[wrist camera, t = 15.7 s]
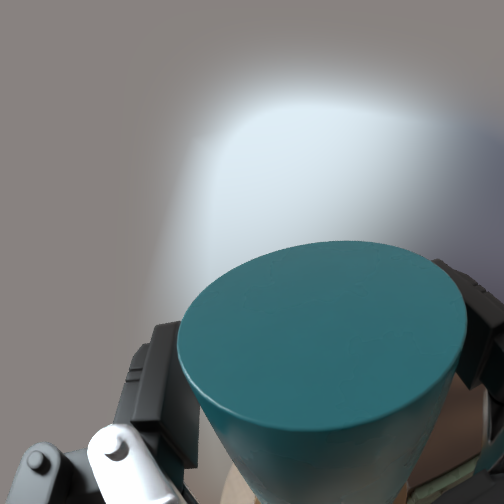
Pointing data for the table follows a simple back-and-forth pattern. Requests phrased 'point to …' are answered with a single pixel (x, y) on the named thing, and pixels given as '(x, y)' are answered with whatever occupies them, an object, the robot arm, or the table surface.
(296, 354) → the cylinder
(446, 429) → the cabinet
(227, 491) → the table surface
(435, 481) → the drawer
